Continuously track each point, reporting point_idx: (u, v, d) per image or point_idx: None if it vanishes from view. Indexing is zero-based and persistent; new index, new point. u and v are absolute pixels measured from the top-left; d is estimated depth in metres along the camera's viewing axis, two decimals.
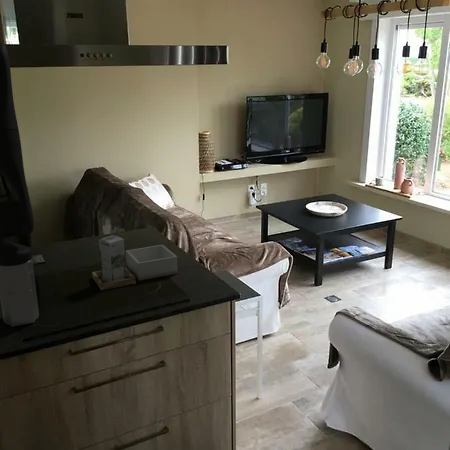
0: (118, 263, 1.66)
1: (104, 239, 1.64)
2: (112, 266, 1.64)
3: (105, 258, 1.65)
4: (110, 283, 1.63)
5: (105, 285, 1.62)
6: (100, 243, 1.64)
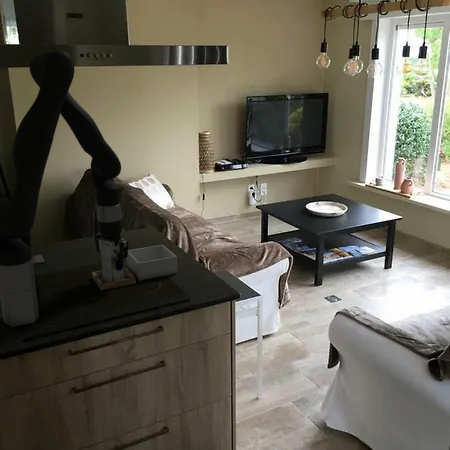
0: None
1: None
2: (112, 266, 1.64)
3: (105, 258, 1.65)
4: (110, 283, 1.63)
5: (105, 285, 1.62)
6: (100, 243, 1.64)
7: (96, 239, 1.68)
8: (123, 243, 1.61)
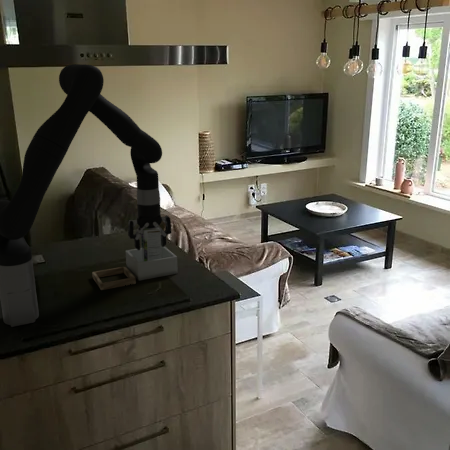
0: None
1: (148, 228, 1.72)
2: (160, 250, 1.75)
3: (153, 246, 1.73)
4: (110, 283, 1.63)
5: (105, 285, 1.62)
6: (146, 233, 1.71)
7: (132, 226, 1.70)
8: (169, 217, 1.74)
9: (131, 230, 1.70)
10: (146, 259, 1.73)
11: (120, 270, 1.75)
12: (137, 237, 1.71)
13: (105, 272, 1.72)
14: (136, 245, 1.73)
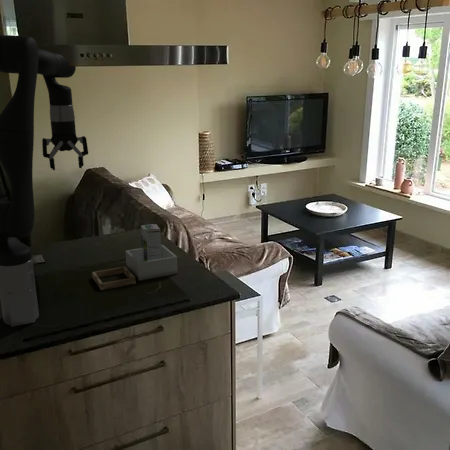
0: None
1: (148, 228, 1.72)
2: (160, 250, 1.75)
3: (153, 246, 1.73)
4: (110, 283, 1.63)
5: (105, 285, 1.62)
6: (146, 233, 1.71)
7: (45, 144, 1.67)
8: (85, 137, 1.72)
9: (44, 148, 1.67)
10: (146, 259, 1.73)
11: (120, 270, 1.75)
12: (51, 156, 1.69)
13: (105, 272, 1.72)
14: (51, 165, 1.70)
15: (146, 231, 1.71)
